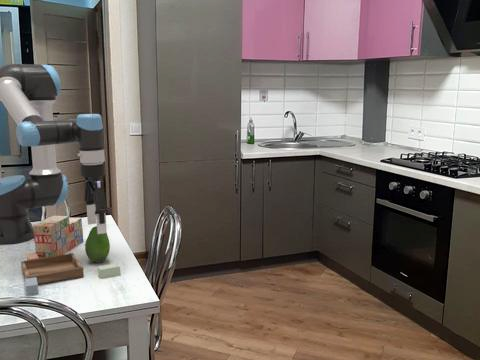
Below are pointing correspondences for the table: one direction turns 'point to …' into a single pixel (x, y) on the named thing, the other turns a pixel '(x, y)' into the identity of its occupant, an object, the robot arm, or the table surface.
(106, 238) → the fruit
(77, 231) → the stack of blocks
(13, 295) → the table surface
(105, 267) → the sage brick
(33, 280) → the slate brick
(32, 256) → the terracotta brick
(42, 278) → the tray
